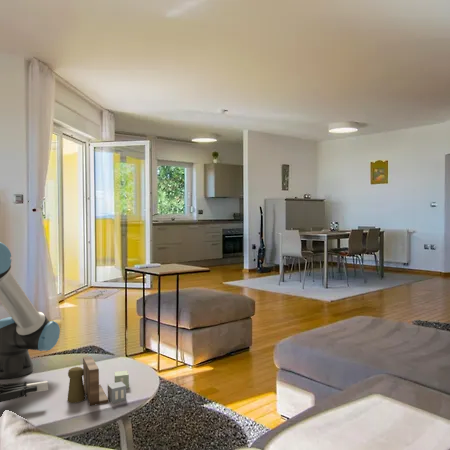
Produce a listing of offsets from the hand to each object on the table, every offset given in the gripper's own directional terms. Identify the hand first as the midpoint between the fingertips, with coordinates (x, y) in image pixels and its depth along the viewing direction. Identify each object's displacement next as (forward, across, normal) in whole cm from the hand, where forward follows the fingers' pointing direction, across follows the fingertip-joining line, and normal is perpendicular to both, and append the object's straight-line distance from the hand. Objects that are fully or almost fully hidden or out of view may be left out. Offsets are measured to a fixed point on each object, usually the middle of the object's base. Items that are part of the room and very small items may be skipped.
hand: (47, 385), depth 152 cm
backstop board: (+16, 0, -6) cm, 17 cm away
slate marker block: (+20, +7, -4) cm, 21 cm away
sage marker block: (+26, -5, -2) cm, 27 cm away
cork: (+9, 0, -7) cm, 11 cm away
